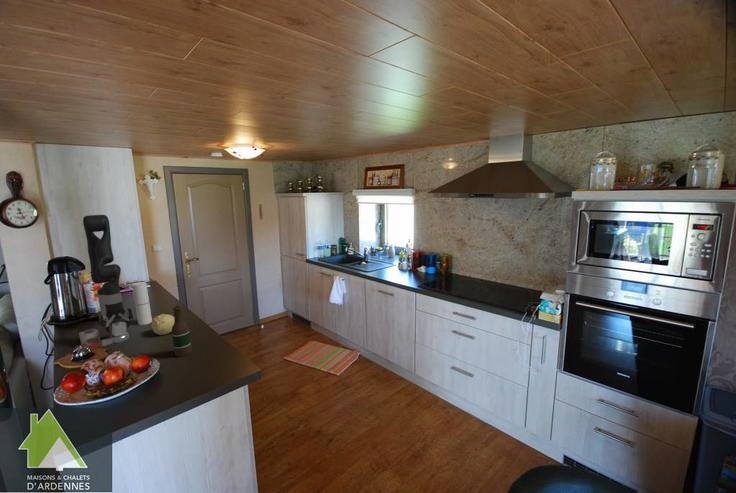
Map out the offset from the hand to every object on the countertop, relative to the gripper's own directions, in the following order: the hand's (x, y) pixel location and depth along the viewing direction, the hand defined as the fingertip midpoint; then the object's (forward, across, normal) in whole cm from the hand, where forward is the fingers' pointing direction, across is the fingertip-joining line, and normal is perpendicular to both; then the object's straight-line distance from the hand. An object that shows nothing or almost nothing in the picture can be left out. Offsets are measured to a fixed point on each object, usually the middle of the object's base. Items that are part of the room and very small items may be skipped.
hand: (118, 329), depth 180 cm
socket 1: (+6, +11, -8) cm, 15 cm away
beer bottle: (+6, -15, +45) cm, 48 cm away
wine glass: (+6, +7, 0) cm, 9 cm away
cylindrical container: (+6, -17, -17) cm, 25 cm away
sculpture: (+6, -19, +10) cm, 22 cm away
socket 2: (+3, 0, 0) cm, 3 cm away
